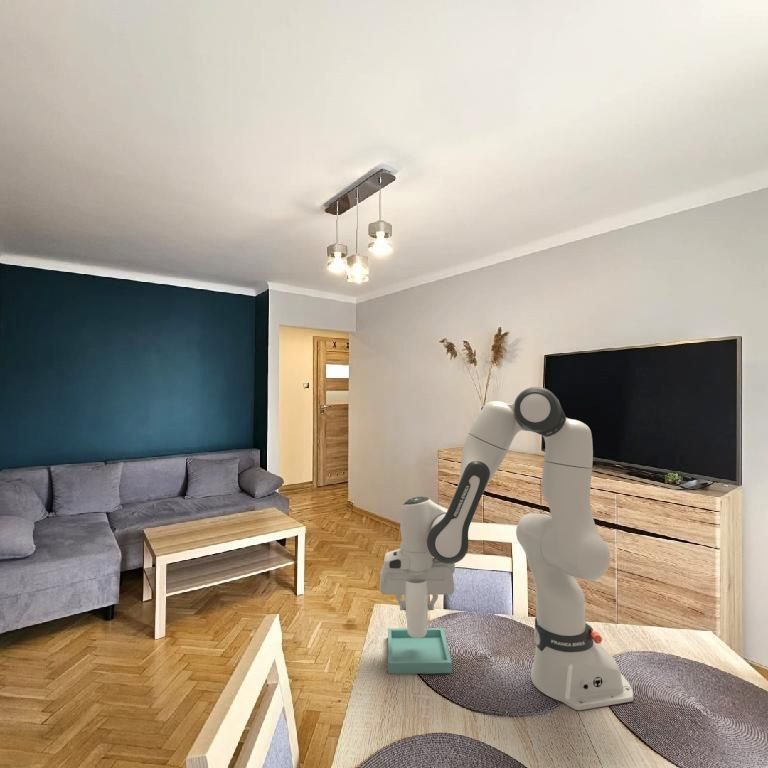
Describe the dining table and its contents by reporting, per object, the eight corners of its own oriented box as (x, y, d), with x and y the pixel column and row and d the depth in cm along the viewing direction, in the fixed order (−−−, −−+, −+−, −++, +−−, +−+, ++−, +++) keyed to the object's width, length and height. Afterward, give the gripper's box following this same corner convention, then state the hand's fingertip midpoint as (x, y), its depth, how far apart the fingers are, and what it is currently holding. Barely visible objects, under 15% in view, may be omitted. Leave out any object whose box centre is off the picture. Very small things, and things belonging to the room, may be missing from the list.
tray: (443, 637, 126) (443, 628, 126) (451, 673, 110) (451, 662, 110) (387, 637, 126) (387, 628, 126) (388, 673, 110) (388, 663, 110)
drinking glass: (428, 642, 114) (427, 584, 114) (402, 639, 115) (401, 582, 116) (430, 628, 121) (429, 573, 121) (406, 626, 122) (405, 572, 122)
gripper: (453, 553, 122) (453, 603, 121) (379, 553, 122) (379, 603, 121) (456, 562, 115) (457, 615, 115) (379, 562, 115) (379, 615, 115)
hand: (416, 609), depth 118 cm, fingers closed on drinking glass, 6 cm apart
